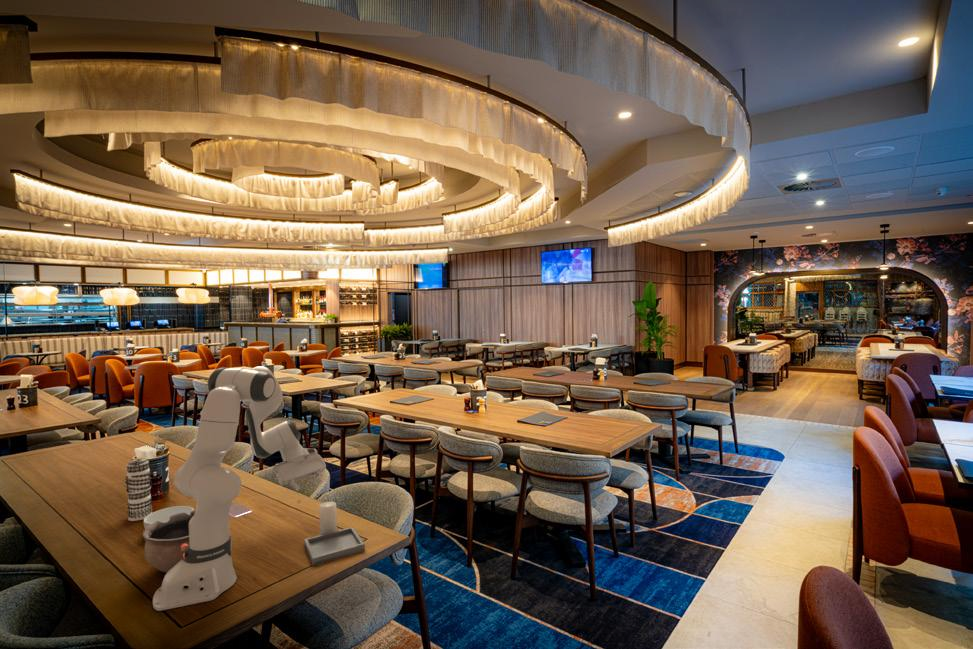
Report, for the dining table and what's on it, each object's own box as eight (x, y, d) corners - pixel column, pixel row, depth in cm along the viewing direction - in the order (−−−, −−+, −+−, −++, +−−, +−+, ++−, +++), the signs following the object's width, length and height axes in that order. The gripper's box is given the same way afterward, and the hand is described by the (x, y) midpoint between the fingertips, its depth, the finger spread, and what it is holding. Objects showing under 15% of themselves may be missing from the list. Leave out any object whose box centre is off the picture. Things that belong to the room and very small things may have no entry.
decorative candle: (158, 511, 206) (156, 456, 205) (141, 521, 197) (138, 463, 196) (139, 511, 207) (137, 456, 206) (121, 521, 198) (118, 462, 197)
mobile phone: (235, 516, 198) (219, 508, 207) (235, 518, 198) (220, 510, 207) (253, 510, 204) (237, 502, 213) (253, 512, 204) (237, 504, 213)
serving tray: (312, 565, 160) (312, 558, 160) (304, 545, 173) (304, 539, 173) (364, 550, 169) (364, 543, 169) (352, 533, 183) (352, 526, 183)
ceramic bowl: (207, 543, 177) (205, 504, 176) (231, 562, 163) (229, 520, 163) (136, 569, 160) (134, 526, 159) (156, 592, 146) (154, 545, 145)
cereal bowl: (169, 543, 177) (168, 525, 177) (133, 539, 181) (132, 522, 181) (204, 523, 194) (203, 506, 194) (170, 520, 197) (170, 503, 197)
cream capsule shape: (321, 537, 179) (320, 509, 179) (318, 531, 185) (317, 504, 184) (338, 533, 183) (337, 505, 182) (334, 527, 188) (334, 500, 188)
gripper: (274, 460, 186) (288, 490, 181) (319, 447, 203) (333, 474, 197) (268, 469, 189) (282, 498, 184) (313, 456, 206) (327, 482, 200)
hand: (309, 486), depth 191 cm, fingers open, 8 cm apart
